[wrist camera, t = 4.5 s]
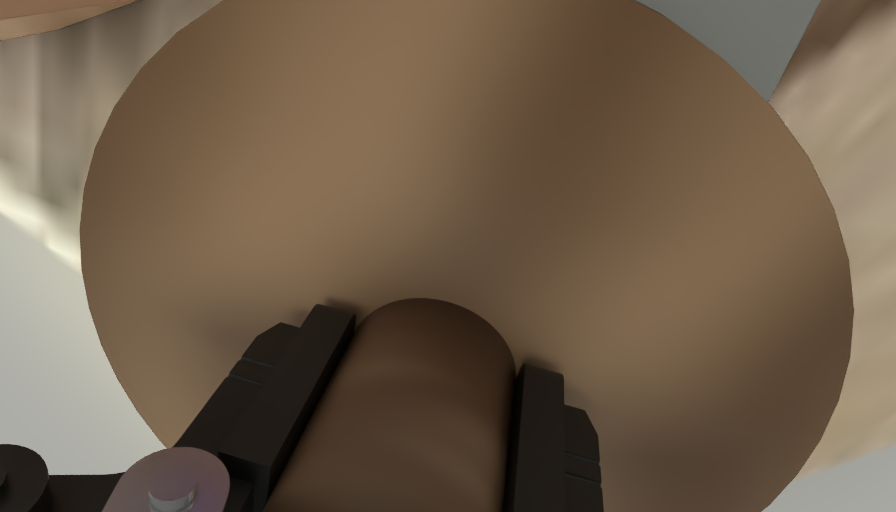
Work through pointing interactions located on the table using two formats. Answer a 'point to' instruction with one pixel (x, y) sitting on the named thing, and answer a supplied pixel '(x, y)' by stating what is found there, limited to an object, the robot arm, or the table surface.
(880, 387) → the table surface
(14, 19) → the pot
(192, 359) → the lid
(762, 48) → the mat
